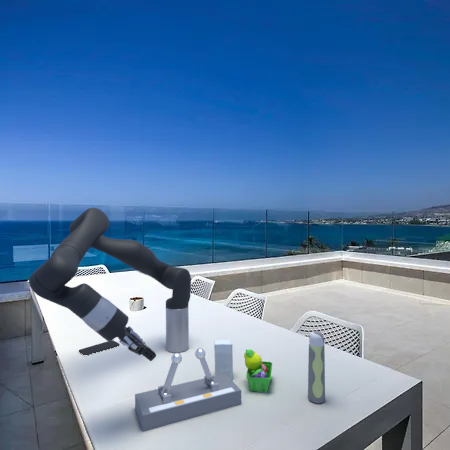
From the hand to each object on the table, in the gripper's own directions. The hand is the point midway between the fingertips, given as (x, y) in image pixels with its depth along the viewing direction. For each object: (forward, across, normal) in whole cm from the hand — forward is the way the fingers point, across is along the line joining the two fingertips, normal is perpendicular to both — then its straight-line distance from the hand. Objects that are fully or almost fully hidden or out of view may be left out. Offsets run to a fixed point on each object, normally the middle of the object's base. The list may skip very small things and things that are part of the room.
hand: (153, 357), depth 88 cm
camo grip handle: (+43, -13, -21) cm, 50 cm away
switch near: (+10, 0, +6) cm, 11 cm away
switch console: (+18, 0, +4) cm, 19 cm away
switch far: (+20, 0, -4) cm, 20 cm away
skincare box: (+30, +11, -7) cm, 33 cm away
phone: (+4, +55, +19) cm, 58 cm away
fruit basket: (+35, +2, -13) cm, 38 cm away
